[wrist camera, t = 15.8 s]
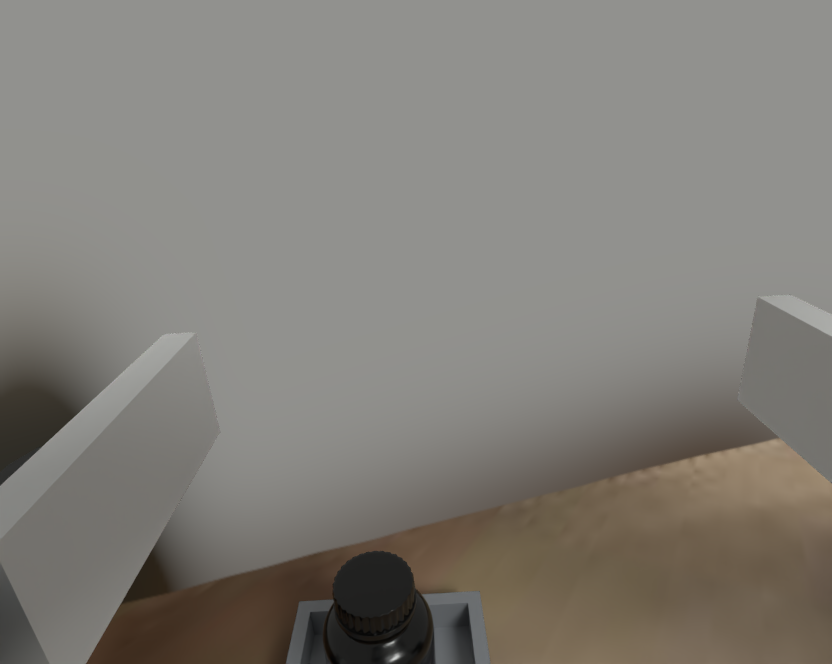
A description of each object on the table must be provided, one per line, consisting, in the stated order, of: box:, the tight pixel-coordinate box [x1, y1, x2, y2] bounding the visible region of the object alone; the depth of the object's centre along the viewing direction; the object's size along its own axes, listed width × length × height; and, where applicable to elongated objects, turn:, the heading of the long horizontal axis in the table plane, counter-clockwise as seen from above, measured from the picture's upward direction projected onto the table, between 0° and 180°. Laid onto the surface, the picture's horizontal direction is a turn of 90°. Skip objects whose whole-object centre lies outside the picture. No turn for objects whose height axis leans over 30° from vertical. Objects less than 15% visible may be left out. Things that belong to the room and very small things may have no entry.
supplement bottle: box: [323, 551, 436, 664], centre depth 33 cm, size 7×7×12 cm
